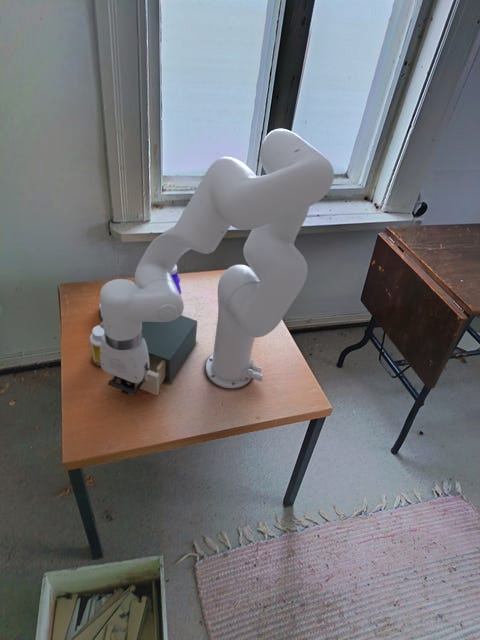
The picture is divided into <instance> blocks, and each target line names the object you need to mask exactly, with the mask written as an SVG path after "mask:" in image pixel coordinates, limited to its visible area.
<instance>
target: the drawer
mask: <svg viewBox="0 0 480 640" xmlns="http://www.w3.org/2000/svg"><path fill="white" fill-rule="evenodd" d="M149 363H150V366H149V371H147V374H148V377H149V379H148V380H147V381H146V382H140V383H135V388H134V389H132V388H129V387H127V386H124V385H122V384H120V382H117V381H119V380H118V379H117V377H116V376H115V375H112V374H110V373H109V376H110V378H111V379H109V380H108V382H107V385H108V386H110V387H112V388H114V389H118V390H120V391H121V390H122V391H125V392H127V393H129V394H131V395H133V396H137V394H138V391H139V390H143V391H145V392H147V393H150V394H153V395H155V396H158V395H159V393H160V386H161V385H162V384H163V382H164V381H163V380H164V379H165V377H166V376H167V361H165V360H162V359H159V358H157V357H154V356H151V355H149Z"/></svg>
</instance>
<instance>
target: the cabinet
mask: <svg viewBox="0 0 480 640" xmlns="http://www.w3.org/2000/svg"><path fill="white" fill-rule="evenodd" d="M197 329H198V320H195V319H193V318H190V317H187V316H185V315H182V314H181V315H180V316H179V317H178V318H177V319H175V320H173V321H169V322H142V338H144V339H145V342H146V345H147V349H148V354H149V355H151V356H154V357H157V358H159V359H162V360H165V361H167V376H166V377H165V379H164V380H163V382H165V383H168V384H170V383H171V382H172V381H173V379H174V378H175V375H176V374H177V372H178V371H179V370H180V368H181V367H182V365H183V363H184V362H185V360H186V359H187V357H189V355H190V353H191V352H192V350H193V348H194V347H195V345H196V343H197V332H198V331H197Z"/></svg>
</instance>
